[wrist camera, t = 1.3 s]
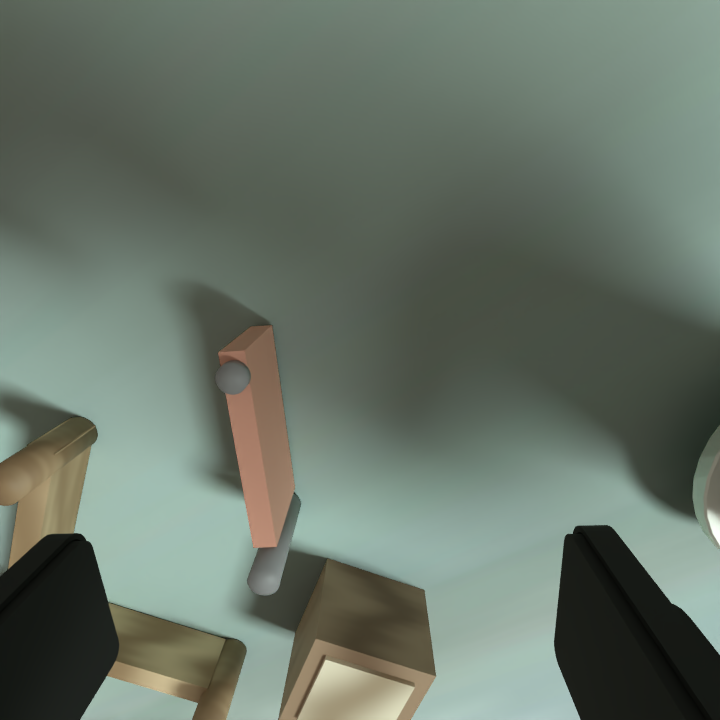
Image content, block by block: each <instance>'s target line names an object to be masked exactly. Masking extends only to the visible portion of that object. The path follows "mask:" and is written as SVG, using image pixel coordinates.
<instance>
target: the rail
mask: <svg viewBox="0 0 720 720" xmlns="http://www.w3.org/2000/svg"><path fill="white" fill-rule="evenodd" d="M218 355H219V361H220V366H221V367H220V368H219V369H218V370H217V372H216V375H215V381H216V384H217V386H218V388H219V389H220V390H221V391H223V392H224V393H225V394H226V399H227V405H228V410H229V416H230V421H231V427H232V432H233V438H234V443H235V449H236V454H237V460H238V465H239V471H240V476H241V482H242V487H243V493H244V498H245V504H246V509H247V515H248V520H249V526H250V531H251V537H252V542H253V548H259V549H258V551H257V554H256V557H255V560H254V562H253V565H252V568H251V571H250V573H249V576H248V579H247V583H248V586H249V588H250V589H251V590H252V591H253V592H255V593H256V594H259V595H271V594H273V593H275V592H276V591H277V590H278V588H279V585H280V581H281V578H282V574H283V570H284V566H285V563H286V559H287V555H288V552H289V548H290V544H291V540H292V537H293V533H294V529H295V525H296V522H297V518H298V514H299V511H300V507H301V501H300V499H299V497H298V496H296V495H295V494H293V493H294V490H295V484H294V477H293V470H292V463H291V456H290V449H289V442H288V435H287V428H286V420H285V413H284V406H283V399H282V392H281V385H280V378H279V371H278V364H277V357H276V350H275V343H274V335H273V328H272V325H265V326H251V327H249V328H248V329H247V330H246V331H244V332H243V333H242V334H241V335H239V336H238V337H237V338H236V339H234V340H233V341H232V342H230V343H229V344H228V345H227V346H225V347H224V348H223V349H222V350H220V351H219V352H218Z"/></svg>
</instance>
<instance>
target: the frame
mask: <svg viewBox="0 0 720 720" xmlns="http://www.w3.org/2000/svg"><path fill="white" fill-rule="evenodd" d="M97 436H98V433H97V429H96V427H95V425H94V424H93V423H92V422H91V421H89V420H88V419H85V418H82V417H74V418H72V417H71V418H70V419H68V420H66V421H65V422H63V423H62V424H60V425H58V426H57V427H55V428H54V429H52V430H50V431H49V432H47V433H46V434H44V435H42V436H41V437H39V438H38V439H36V440H34V441H33V442H31V443H29V444H28V445H27V447H25V448H23V449H22V450H20V451H19V452H17V453H15V454H14V455H12V456H11V457H9V458H7V459H6V460H4V461H3V462H1V463H0V505H3V506H9V505H13V504H15V503H16V502H18V507H17V514H16V520H15V527H14V533H13V540H12V547H11V553H10V560H9V566H8V569H9V568H10V567H11V566H12V565H13V564H15V563H16V562H17V561H18V560H19V559H20V558H21V557H22V556H23V555H24V554H25V553H27V552H28V551H29V550H30V549H31V548H32V547H33V546H34V545H35V544H36V543H38V542H39V541H40V540H41V539H42V538H43V537H45V536H46V535H49V534H68V533H74V528H75V523H76V518H77V514H78V509H79V504H80V499H81V494H82V489H83V484H84V479H85V474H86V470H87V465H88V460H89V455H90V450H91V445H92V444H93V443H95V441H96V440H97ZM108 604H109V607H110V611H111V614H112V618H113V621H114V625H115V629H116V632H117V636H118V639H119V652H118V656H117V659H116V661H115V663H114V665H113V667H112V668H111V670H110V671H109V673H108V675H107V676H109V677H113V678H116V679H119V680H123V681H126V682H130V683H133V684H136V685H140V686H143V687H146V688H150V689H153V690H156V691H160V692H163V693H167V694H170V695H173V696H177V697H180V698H183V699H187V700H190V701H193V702H197V703H198V705H197V708H196V711H195V713H194V716H193V719H192V720H226V718H227V714H228V711H229V708H230V705H231V701H232V698H233V695H234V691H235V688H236V685H237V682H238V678H239V675H240V672H241V668H242V665H243V662H244V659H245V655H246V651H247V650H246V647H245V645H244V644H243V643H242V642H240V641H239V640H236V639H227V640H226V639H224V638H220V637H217V636H214V635H211V634H208V633H204V632H201V631H198V630H195V629H191V628H188V627H185V626H182V625H179V624H175V623H172V622H169V621H166V620H162V619H159V618H156V617H153V616H150V615H146V614H143V613H140V612H137V611H133V610H130V609H127V608H124V607H121V606H117V605H114V604H111V603H108Z"/></svg>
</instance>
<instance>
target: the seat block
mask: <svg viewBox="0 0 720 720" xmlns="http://www.w3.org/2000/svg"><path fill="white" fill-rule="evenodd" d="M435 677H436V672H435V665H434V658H433V650H432V643H431V635H430V628H429V621H428V613H427V606H426V598H425V591H424V590H423V589H420V588H416V587H413V586H410V585H407V584H404V583H401V582H398V581H395V580H392V579H389V578H386V577H383V576H380V575H377V574H374V573H371V572H368V571H365V570H362V569H359V568H356V567H353V566H350V565H347V564H344V563H341V562H338V561H335V560H331V559H328V558H327V560H326V563H325V565H324V567H323V570H322V572H321V574H320V577H319V579H318V581H317V584H316V586H315V588H314V591H313V593H312V595H311V598H310V600H309V602H308V605H307V607H306V609H305V612H304V614H303V616H302V618H301V621H300V623H299V625H298V628H297V630H296V632H295V637H294V642H293V647H292V652H291V658H290V663H289V668H288V673H287V678H286V683H285V688H284V693H283V698H282V703H281V708H280V713H279V718H278V720H411V718H412V717H413V715H414V713H415V711H416V710H417V708H418V706H419V705H420V703H421V701H422V700H423V698H424V696H425V694H426V693H427V691H428V689H429V688H430V686H431V684H432V683H433V681H434V679H435Z"/></svg>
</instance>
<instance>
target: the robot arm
mask: <svg viewBox="0 0 720 720" xmlns="http://www.w3.org/2000/svg"><path fill="white" fill-rule="evenodd" d="M692 498H693V503H694V509H695V515H696V517H697V519H698V522H699V524H700V526H701V528H702V530H703V532H704V533H705V534H706V536H707V537H708V538H709V539H710V541H711V542H712V543H713V544H714V545H715V546H716V547H717V548H718V549H719V550H720V425H719V426H718V428H717V429H716V430H715V432H714V433H713V434H712V436H711V437H710V439H709V441H708V442H707V444H706V446H705V448H704V450H703V452H702V454H701V456H700V458H699V461H698V465H697V468H696V472H695V475H694V481H693V497H692ZM554 647H555V654H556V658H557V662H558V665H559V667H560V670H561V672H562V675H563V677H564V680H565V682H566V685H567V687H568V689H569V692H570V694H571V697H572V699H573V702H574V704H575V707H576V709H577V712H578V714H579V716H580V719H581V720H720V655H719V654H718V652H717V651H716V650H715V649H714V647H713V646H712V645H711V643H710V642H709V641H708V640H707V638H706V637H705V636H704V635H703V633H702V632H701V631H700V630H699V628H698V627H697V626H696V625H695V623H694V622H693V621H692V620H691V618H690V617H689V616H688V615H687V614H686V613H685V612H684V611H683V610H682V609H681V608H679V607H678V606H676V605H674V604H671V602H670V601H669V600H668V598H667V597H666V596H665V594H664V593H663V592H662V591H661V589H660V588H659V587H658V585H657V584H656V583H655V582H654V580H653V579H652V578H651V576H650V575H649V574H648V573H647V571H646V570H645V569H644V567H643V566H642V565H641V564H640V562H639V561H638V560H637V558H636V557H635V556H634V555H633V553H632V552H631V551H630V549H629V548H628V547H627V546H626V544H625V543H624V542H623V540H622V539H621V538H620V537H619V535H618V534H617V533H616V531H615V530H614V529H613V528H612V527H610V526H608V525H594V526H576V527H575V529H574V531H573V534H567V535H566V536H565V539H564V548H563V558H562V568H561V578H560V588H559V598H558V608H557V618H556V628H555V638H554ZM118 652H119V639H118V636H117V632H116V629H115V625H114V621H113V618H112V614H111V611H110V607H109V604H108V600H107V596H106V593H105V589H104V586H103V582H102V579H101V575H100V572H99V568H98V564H97V561H96V557H95V554H94V550H93V547H92V545H91V543H90V542H89V541H86V539H85V537H84V536H83V535H82V534H78V533H68V534H49V535H46V536H45V537H43V538H42V539H41V540H40V541H39V542H38V543H36V544H35V545H34V546H33V547H32V548H31V549H30V550H29V551H28V552H27V553H25V554H24V555H23V556H22V557H21V558H20V559H19V560H18V561H17V562H16V563H15V564H13V565H12V566H11V567H10V568H9V569H8V570H7V571H6V572H5V573H4V574H2V575H1V576H0V720H80V719H81V717H82V715H83V714H84V712H85V711H86V709H87V707H88V706H89V704H90V702H91V701H92V699H93V698H94V696H95V694H96V693H97V691H98V689H99V688H100V686H101V684H102V683H103V681H104V680H105V678H106V676H107V675H108V673H109V671H110V670H111V668H112V667H113V665H114V663H115V661H116V659H117V656H118Z"/></svg>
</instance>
